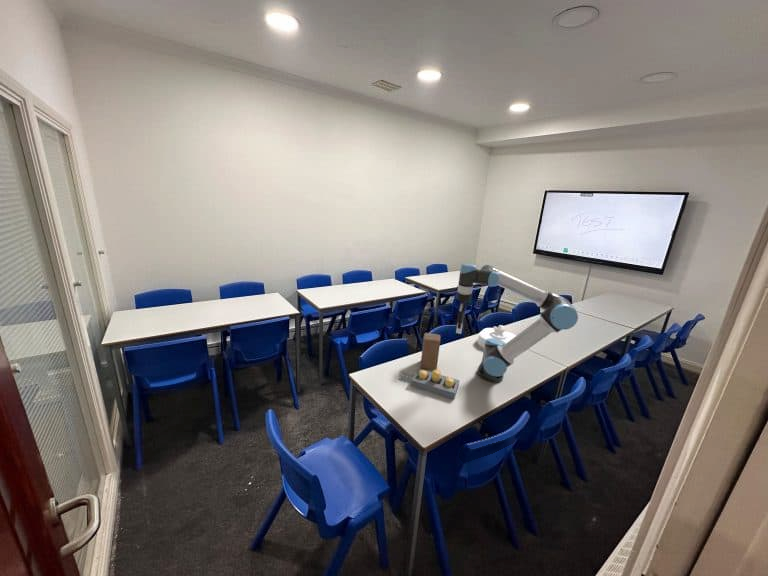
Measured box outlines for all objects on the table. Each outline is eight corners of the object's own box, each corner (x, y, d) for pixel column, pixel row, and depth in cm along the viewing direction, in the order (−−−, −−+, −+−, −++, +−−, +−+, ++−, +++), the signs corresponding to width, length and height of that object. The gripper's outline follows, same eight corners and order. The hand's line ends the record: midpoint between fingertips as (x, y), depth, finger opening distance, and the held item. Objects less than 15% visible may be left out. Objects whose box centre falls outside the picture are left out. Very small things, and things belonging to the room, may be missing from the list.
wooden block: (436, 371, 182) (440, 341, 176) (420, 368, 183) (423, 338, 177) (437, 362, 191) (440, 334, 185) (421, 360, 193) (424, 331, 187)
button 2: (440, 378, 167) (441, 371, 165) (438, 383, 162) (439, 375, 161) (432, 376, 168) (433, 368, 167) (430, 380, 164) (431, 372, 163)
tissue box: (486, 334, 237) (489, 315, 232) (519, 345, 222) (523, 325, 217) (473, 345, 218) (477, 324, 213) (508, 357, 203) (513, 336, 198)
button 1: (453, 386, 165) (454, 378, 163) (451, 391, 160) (453, 383, 159) (445, 384, 166) (446, 376, 165) (443, 388, 162) (444, 380, 161)
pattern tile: (414, 376, 174) (414, 375, 174) (410, 382, 168) (410, 381, 168) (403, 373, 177) (403, 372, 177) (399, 379, 171) (399, 378, 171)
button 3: (427, 379, 170) (428, 371, 169) (425, 383, 166) (425, 375, 165) (419, 376, 172) (420, 369, 170) (417, 380, 168) (418, 373, 166)
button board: (458, 386, 168) (459, 380, 167) (454, 399, 156) (455, 393, 155) (417, 374, 177) (418, 368, 176) (410, 386, 165) (411, 380, 164)
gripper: (459, 288, 167) (454, 327, 173) (455, 294, 155) (449, 335, 162) (473, 290, 164) (467, 330, 171) (469, 297, 152) (463, 339, 159)
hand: (458, 332), depth 166 cm, fingers closed
